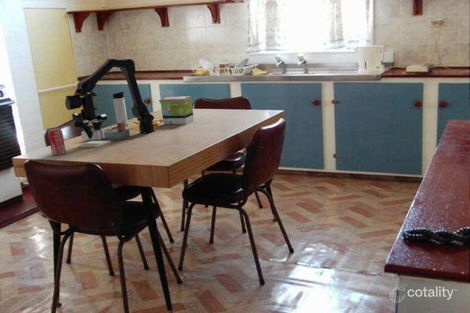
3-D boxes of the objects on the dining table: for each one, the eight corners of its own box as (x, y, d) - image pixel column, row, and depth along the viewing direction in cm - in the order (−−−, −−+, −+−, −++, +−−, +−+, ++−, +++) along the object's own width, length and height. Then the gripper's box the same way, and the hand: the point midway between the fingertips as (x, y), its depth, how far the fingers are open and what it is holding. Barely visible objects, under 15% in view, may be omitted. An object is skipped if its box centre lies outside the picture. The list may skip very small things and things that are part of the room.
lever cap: (105, 137, 260) (103, 128, 258) (98, 139, 255) (97, 130, 254) (88, 137, 263) (87, 128, 262) (82, 139, 259) (80, 130, 258)
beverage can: (54, 153, 248) (49, 128, 245) (67, 152, 249) (62, 127, 246) (50, 156, 242) (46, 131, 239) (64, 155, 243) (59, 129, 240)
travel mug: (126, 126, 302) (121, 92, 297) (115, 127, 303) (110, 93, 298) (130, 124, 308) (125, 90, 303) (120, 125, 309) (115, 91, 304)
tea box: (163, 125, 296) (159, 99, 292) (171, 121, 305) (168, 96, 301) (186, 124, 290) (183, 98, 286) (194, 120, 299) (191, 95, 295)
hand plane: (130, 136, 271) (127, 121, 269) (122, 139, 264) (119, 124, 262) (95, 137, 279) (93, 122, 277) (87, 140, 273) (84, 125, 271)
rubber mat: (110, 142, 262) (110, 140, 262) (98, 146, 253) (98, 145, 253) (91, 142, 267) (91, 141, 267) (78, 146, 258) (78, 145, 258)
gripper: (87, 103, 267) (92, 133, 271) (62, 110, 250) (68, 142, 254) (105, 102, 262) (110, 133, 266) (81, 109, 246) (86, 141, 250)
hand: (93, 137), depth 259 cm, fingers closed on lever cap, 5 cm apart
